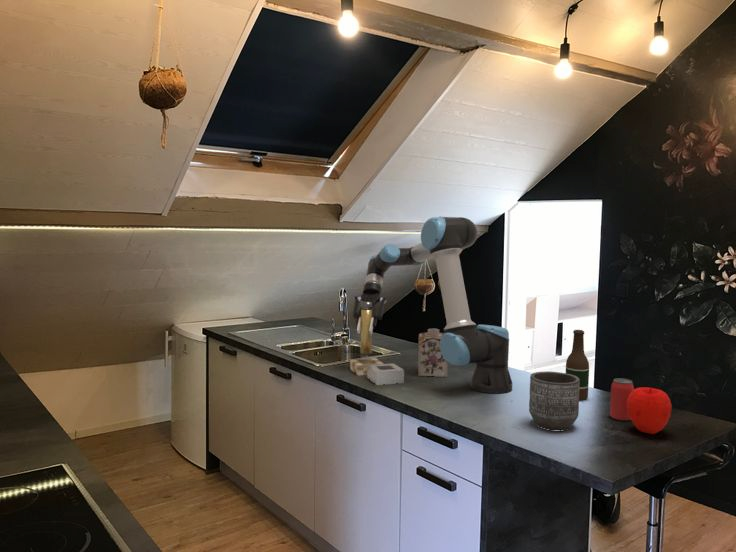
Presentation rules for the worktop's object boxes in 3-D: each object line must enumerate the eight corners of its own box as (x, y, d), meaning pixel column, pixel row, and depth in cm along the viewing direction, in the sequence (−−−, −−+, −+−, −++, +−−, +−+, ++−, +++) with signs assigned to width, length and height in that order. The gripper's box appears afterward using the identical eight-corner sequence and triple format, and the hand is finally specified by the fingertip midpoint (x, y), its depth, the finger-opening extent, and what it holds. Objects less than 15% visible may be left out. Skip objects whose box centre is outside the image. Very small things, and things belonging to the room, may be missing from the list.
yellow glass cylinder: (373, 353, 242) (373, 302, 240) (362, 354, 240) (363, 302, 238) (369, 351, 246) (370, 300, 244) (359, 351, 244) (359, 301, 243)
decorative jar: (446, 370, 246) (447, 327, 244) (447, 377, 234) (448, 332, 233) (417, 369, 247) (418, 326, 246) (417, 376, 236) (418, 331, 234)
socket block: (403, 383, 226) (404, 370, 225) (376, 385, 222) (376, 372, 222) (393, 375, 236) (393, 363, 236) (367, 377, 233) (367, 365, 232)
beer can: (613, 413, 191) (615, 376, 190) (635, 417, 187) (637, 380, 186) (606, 418, 186) (608, 380, 185) (628, 422, 182) (630, 384, 181)
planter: (519, 425, 179) (521, 376, 178) (543, 415, 189) (545, 368, 188) (563, 437, 169) (565, 386, 168) (586, 426, 179) (588, 377, 178)
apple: (627, 437, 170) (629, 391, 169) (622, 423, 181) (625, 380, 180) (673, 441, 167) (676, 395, 165) (665, 428, 178) (668, 384, 177)
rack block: (383, 373, 240) (384, 363, 239) (357, 375, 236) (357, 365, 236) (375, 367, 250) (375, 357, 250) (350, 369, 247) (350, 359, 246)
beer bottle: (573, 402, 203) (575, 332, 201) (559, 395, 210) (562, 328, 208) (592, 400, 205) (595, 331, 203) (579, 394, 212) (581, 327, 210)
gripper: (394, 293, 254) (386, 338, 240) (354, 291, 258) (344, 336, 243) (392, 281, 248) (384, 327, 234) (351, 280, 252) (341, 325, 237)
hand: (364, 332), depth 239 cm, fingers closed on yellow glass cylinder, 4 cm apart
